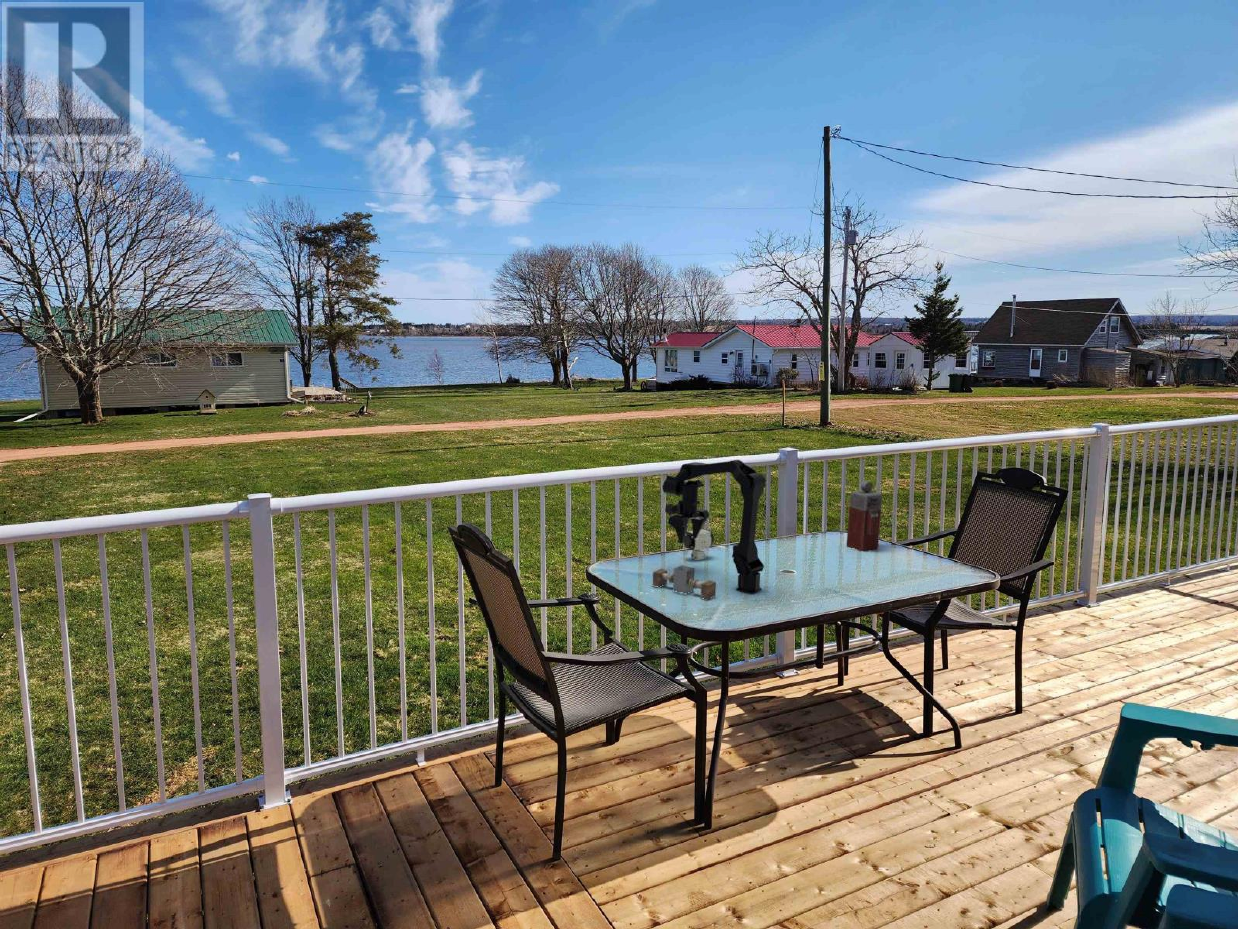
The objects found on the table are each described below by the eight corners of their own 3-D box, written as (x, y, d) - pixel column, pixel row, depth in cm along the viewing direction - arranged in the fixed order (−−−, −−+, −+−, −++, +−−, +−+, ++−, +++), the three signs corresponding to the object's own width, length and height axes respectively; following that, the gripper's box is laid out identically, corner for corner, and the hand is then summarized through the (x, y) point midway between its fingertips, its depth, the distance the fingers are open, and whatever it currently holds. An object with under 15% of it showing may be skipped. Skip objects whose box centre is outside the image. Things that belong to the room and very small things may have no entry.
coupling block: (695, 591, 257) (696, 568, 256) (687, 595, 253) (688, 571, 252) (679, 587, 260) (680, 564, 259) (671, 591, 256) (672, 568, 255)
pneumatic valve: (681, 559, 294) (683, 529, 292) (705, 555, 300) (707, 525, 298) (690, 563, 289) (692, 532, 287) (714, 559, 295) (716, 528, 293)
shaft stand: (715, 596, 252) (716, 581, 251) (707, 600, 248) (708, 585, 247) (660, 582, 265) (661, 568, 264) (652, 586, 261) (653, 572, 260)
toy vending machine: (866, 553, 310) (871, 484, 305) (846, 546, 319) (851, 480, 315) (882, 551, 314) (888, 483, 309) (862, 544, 323) (867, 478, 319)
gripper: (684, 491, 284) (682, 532, 287) (656, 498, 270) (654, 541, 272) (710, 495, 278) (708, 537, 280) (683, 503, 263) (681, 547, 265)
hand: (687, 540), depth 275 cm, fingers open, 9 cm apart
